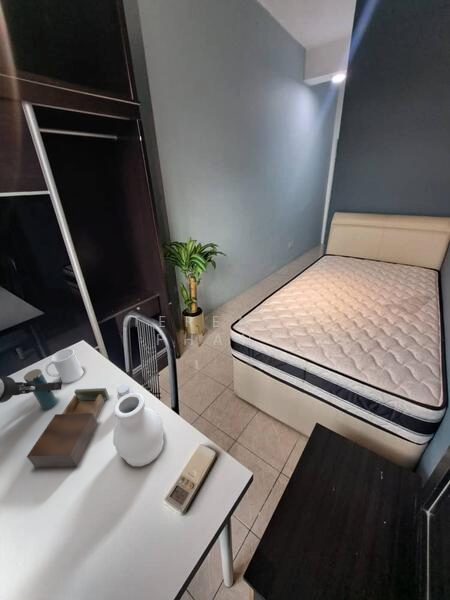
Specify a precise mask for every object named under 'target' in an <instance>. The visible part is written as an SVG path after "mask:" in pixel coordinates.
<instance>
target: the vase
mask: <svg viewBox="0 0 450 600" xmlns="http://www.w3.org/2000/svg"><path fill="white" fill-rule="evenodd" d="M113 413H114V416H115V417H116V418H117V419H118V420H117V422H116V425H115V426H114V429H113V435H112V436H113V437H112V438H113V439H112V443H113V446H114V447H115V450H116V452H117V454H118V455H119V456H120V457H121V458H122V459H123V460H125V462H126V463H127V464H129V465H130V466H132V467H144V466H146V465H148V464H150V463H151V462H153V461H154V460H155V459H157V457H158V456H159V455H160V453H161V452H162V449H163V446H164V433H165V432H164V425H163V419H162V416H160V415H159V413H158V412H157V411H156V410H154V409H153V408H150V407H148V406H146V402H145V397H144V396H143V394H141V393H138V392H133V393H130V394H126V395H125V396H123V397H121V398H120V399H119V400H118V399H117V401H116V402H115V404H114V405H113Z"/></svg>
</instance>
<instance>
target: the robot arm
mask: <svg viewBox="0 0 450 600" xmlns="http://www.w3.org/2000/svg"><path fill="white" fill-rule="evenodd" d="M62 385H63V382H62V381H53V382H47V383H41V384H31V383H27V382H24V381H15V379H14V378H13V377H10V376H0V404H3V403H5V402H8V401H9V400H11V398H13V397H14V396H20V395H25V394H26V395H27V394H30V393H33V392H38V391H48V392H47V393H50V392H51V391H52V392H53V391H59V390H60V391H61V390H62Z"/></svg>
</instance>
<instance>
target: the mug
mask: <svg viewBox="0 0 450 600" xmlns="http://www.w3.org/2000/svg"><path fill="white" fill-rule="evenodd" d="M51 365H54V368H55V369H56V371H57V374H52V373H49V371H48V368H49V367H50V366H51ZM45 373H46V375H48V376H50V377H53V378H58V377H60V379H61V382H62V383H64V384H69V383H70V384H71V383H73V382H76V381H78V380H79V379H80V378H81V377H82V376H83V375H84V370H83V368H82V366H81V364H80V361H79V359H78V357H77V355H76V353H75V351H74V349H72V348H64V349H60V350H58V351H56V352H55V353H54V354H53V355H52V356H51V361H49V362H48V364H47V365H46V366H45Z"/></svg>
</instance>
